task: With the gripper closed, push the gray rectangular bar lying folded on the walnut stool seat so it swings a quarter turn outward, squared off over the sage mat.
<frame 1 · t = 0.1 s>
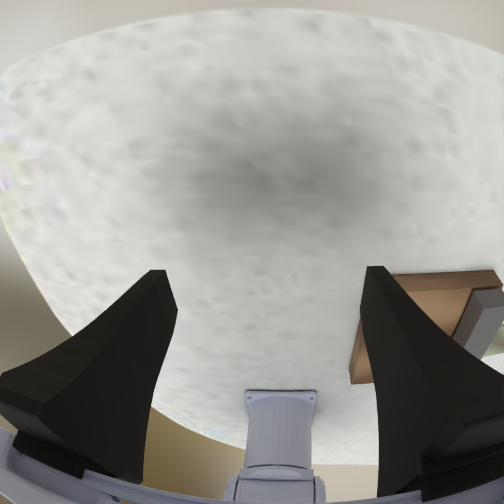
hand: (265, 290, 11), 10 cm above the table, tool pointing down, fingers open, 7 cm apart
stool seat: (419, 324, 26), on the table
gray rectangular bar: (469, 348, 22), point 4 cm above the table, hinge at 0.0°
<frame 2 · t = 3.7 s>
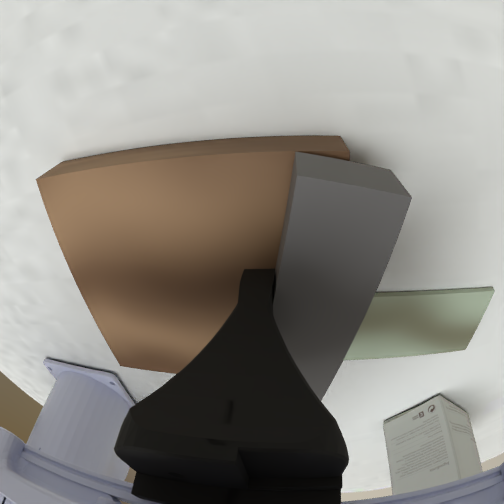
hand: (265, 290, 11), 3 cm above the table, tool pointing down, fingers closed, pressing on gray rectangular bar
skincare box: (430, 415, 22), on the table
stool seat: (203, 268, 15), on the table
gray rectangular bar: (309, 325, 11), point 4 cm above the table, hinge at 10.4°, touching gripper
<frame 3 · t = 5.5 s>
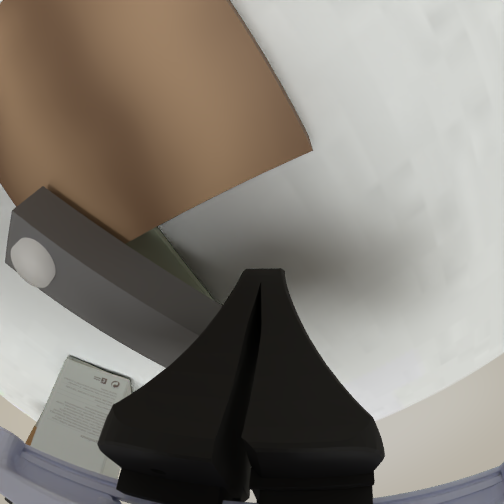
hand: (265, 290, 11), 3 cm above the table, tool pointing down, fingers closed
skincare box: (106, 388, 24), on the table
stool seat: (97, 84, 10), on the table
gray rectangular bar: (133, 307, 12), point 4 cm above the table, hinge at 66.3°
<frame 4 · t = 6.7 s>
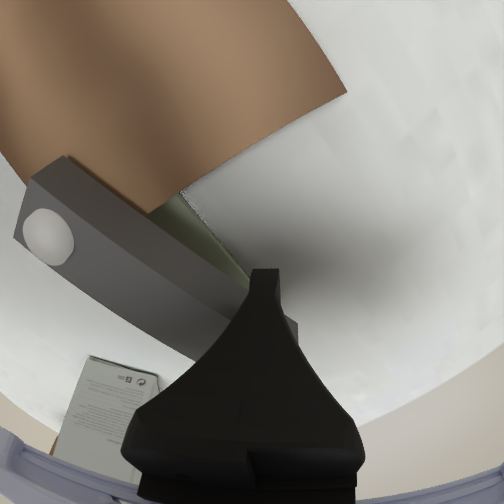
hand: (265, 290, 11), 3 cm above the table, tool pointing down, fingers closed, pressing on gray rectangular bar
skincare box: (131, 389, 24), on the table
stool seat: (112, 52, 10), on the table
gray rectangular bar: (155, 289, 11), point 4 cm above the table, hinge at 74.5°, touching gripper
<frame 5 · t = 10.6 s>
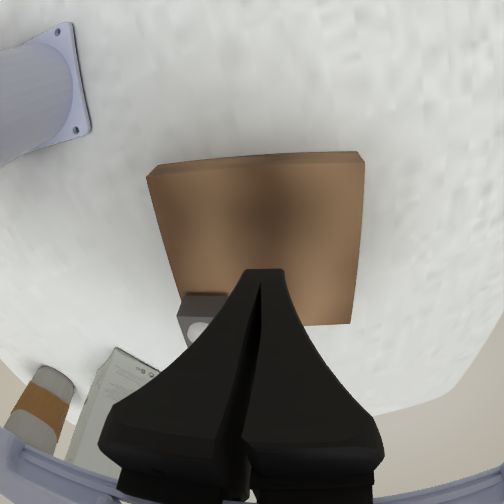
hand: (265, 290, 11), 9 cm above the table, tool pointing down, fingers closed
skincare box: (128, 371, 33), on the table
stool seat: (263, 242, 21), on the table
coffee cup: (57, 377, 38), on the table
gray rectangular bar: (216, 360, 24), point 4 cm above the table, hinge at 90.9°
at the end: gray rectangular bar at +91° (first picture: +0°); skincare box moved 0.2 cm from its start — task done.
